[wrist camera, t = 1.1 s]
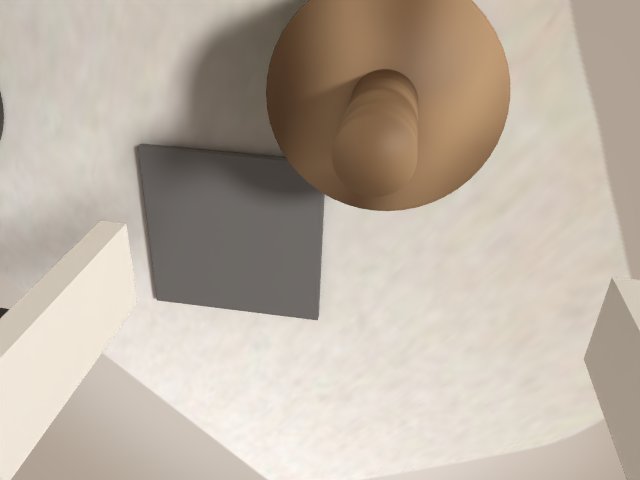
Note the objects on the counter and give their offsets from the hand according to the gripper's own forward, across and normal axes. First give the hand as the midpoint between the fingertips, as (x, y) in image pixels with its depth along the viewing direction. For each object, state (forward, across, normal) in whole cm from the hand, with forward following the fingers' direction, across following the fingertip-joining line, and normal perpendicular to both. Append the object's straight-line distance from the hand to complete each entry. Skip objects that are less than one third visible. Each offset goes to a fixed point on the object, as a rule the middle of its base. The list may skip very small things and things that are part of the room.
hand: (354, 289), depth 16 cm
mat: (+26, -11, -14) cm, 31 cm away
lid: (+19, 0, 0) cm, 19 cm away
